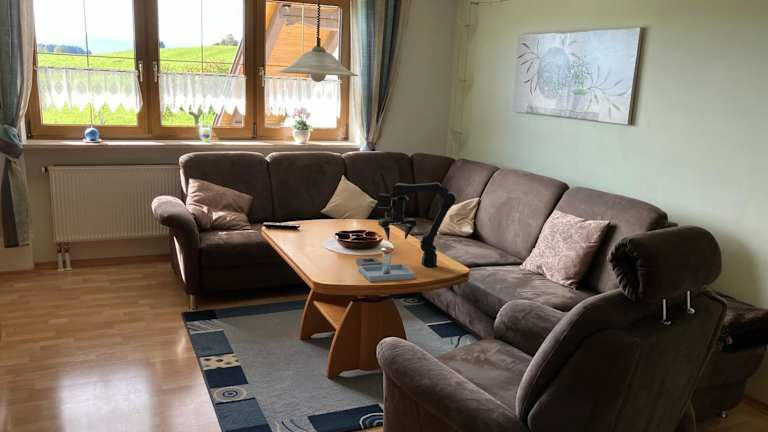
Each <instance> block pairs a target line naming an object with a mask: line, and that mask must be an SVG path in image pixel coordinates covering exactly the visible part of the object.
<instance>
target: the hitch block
mask: <svg viewBox="0 0 768 432" xmlns="http://www.w3.org/2000/svg"><path fill="white" fill-rule="evenodd" d="M355 263H356V265H357V266H358V267H359V266H374V265H382V261H380V259H378V258H376V257H359V258H358V257H357V258H356V259H355Z"/></svg>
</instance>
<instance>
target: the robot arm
mask: <svg viewBox="0 0 768 432" xmlns="http://www.w3.org/2000/svg"><path fill="white" fill-rule="evenodd" d="M425 192H436V194H437V195H439V196H440V197H441V198H442V199H443V201H442V203H441V208H440V210H439V212H438V213H437V215H436V217H435V219H434V221H433V223H432V225H431V227H430V229H429V231H428V233H424V234H423V235H422V238H421V239H420V241H419V243H420V245H419V246H420V250H421V251H422V252H423V254H422V257H421V266H423V267H424V268H426V269H427V268H437V267H439V266H438V265H437V261H438V254H437V253H436V252H437V249H438V248H437V247H436V246H435V244H434V241H435V238H436V235H437V233H438V232H439V229H440V227H441V225H442V223H443V222H444V219H445V218H446V215H447V213H448V212H449V211H450V209H451V208H452V207H453V206H454V204H455V203H456V199H457V195H456V193H455V192H454V191H452V190H451V191H450V190H449V189H448V188H446V187H444V185H442V184H441V183H440V182H438V181H437V182H431V183H417V184H416V183H415V184H412V183H411V184H409V183H403V182H402V183H401V182H398V183H396V184H395V185H394V186H393V188H392V192H389V193H390V194H385V193H384V194H383V193H378V198H377V204H376V205H377V206H376V207H377V208H380V209H390V207H392V209H391V211H385V212H384V218H383V219H379V220H378V221H377V225H378V226H380V227H381V228H382V229H383V230H384V232H385V236H386V239H387V241H389V240H390V231H391V229H390V228H391V227H390V226H392V225H394V226H395V225H396V226H398V225H404V227H405V230H404V240H407V238H408V236H409V235H410V232H411V231H412V230H413V229H414V228H415V227H417V225H418V222H417V221H418V220H417V219H414V218H413V217H411V218H406V219H404V217H405V216H404V215H405V214H406V212H405V202H408V201H409V197H408V196H407V195H409V194H413V193H425Z"/></svg>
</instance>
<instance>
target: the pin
mask: <svg viewBox="0 0 768 432" xmlns="http://www.w3.org/2000/svg"><path fill="white" fill-rule="evenodd" d="M380 251H381V252H382V261H381V262H382V274H383V275H387V274H391V264H392V252H393V251H394V248H393V247H391V246H384V247H380Z"/></svg>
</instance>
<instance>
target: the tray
mask: <svg viewBox="0 0 768 432" xmlns="http://www.w3.org/2000/svg"><path fill="white" fill-rule="evenodd" d="M358 273H359V274H361V276H363V277H364V279H366V280H367V281H368V282H369V283H370V282H382V281H383V282H385V281H401V280H414V279H415V277H416V276H415V275H416V274H415V272H414V271H412V270H411V269H410V268H408V267H407V266H406V265H405V264H403V263H395V264H394V263H393V264H392V263H391V274H387V275H383V274H382V265H374V266H358Z"/></svg>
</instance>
